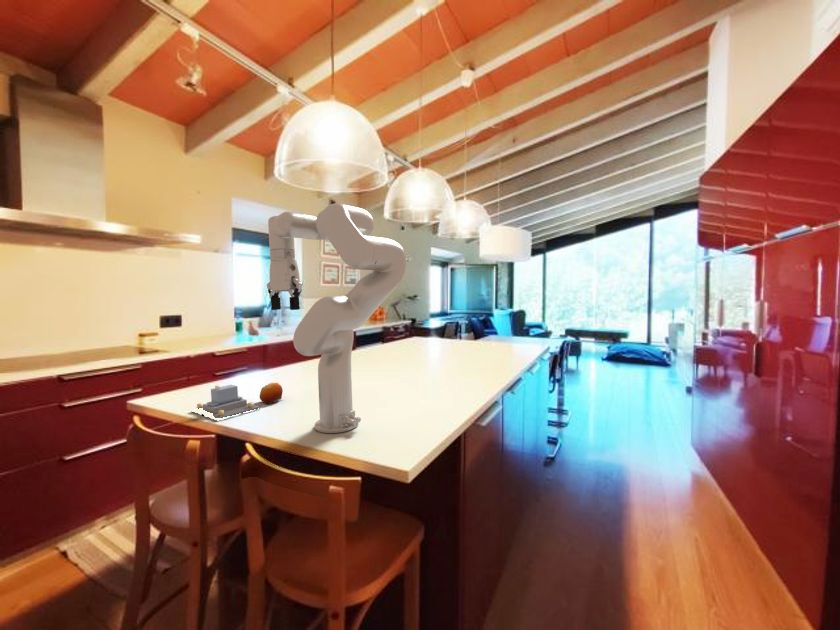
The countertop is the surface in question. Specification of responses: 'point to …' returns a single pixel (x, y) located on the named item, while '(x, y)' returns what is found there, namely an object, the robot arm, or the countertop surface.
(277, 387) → the fruit
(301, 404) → the countertop surface
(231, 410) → the chassis
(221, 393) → the servo
